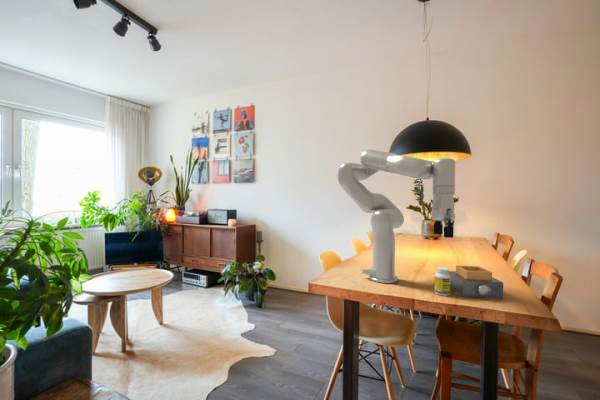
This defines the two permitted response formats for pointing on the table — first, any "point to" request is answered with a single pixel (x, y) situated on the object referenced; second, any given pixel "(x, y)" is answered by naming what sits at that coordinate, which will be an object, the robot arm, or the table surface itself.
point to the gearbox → (475, 283)
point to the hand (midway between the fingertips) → (443, 235)
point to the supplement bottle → (442, 281)
